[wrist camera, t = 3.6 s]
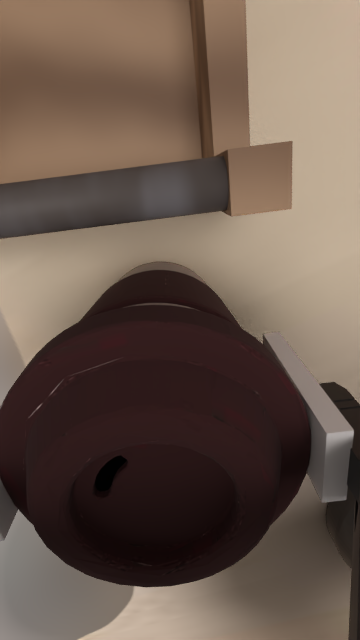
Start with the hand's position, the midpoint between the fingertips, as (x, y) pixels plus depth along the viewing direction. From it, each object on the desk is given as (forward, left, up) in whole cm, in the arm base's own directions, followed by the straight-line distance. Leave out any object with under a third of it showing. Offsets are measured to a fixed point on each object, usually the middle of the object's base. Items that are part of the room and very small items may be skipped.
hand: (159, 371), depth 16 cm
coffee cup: (0, 0, -8) cm, 8 cm away
